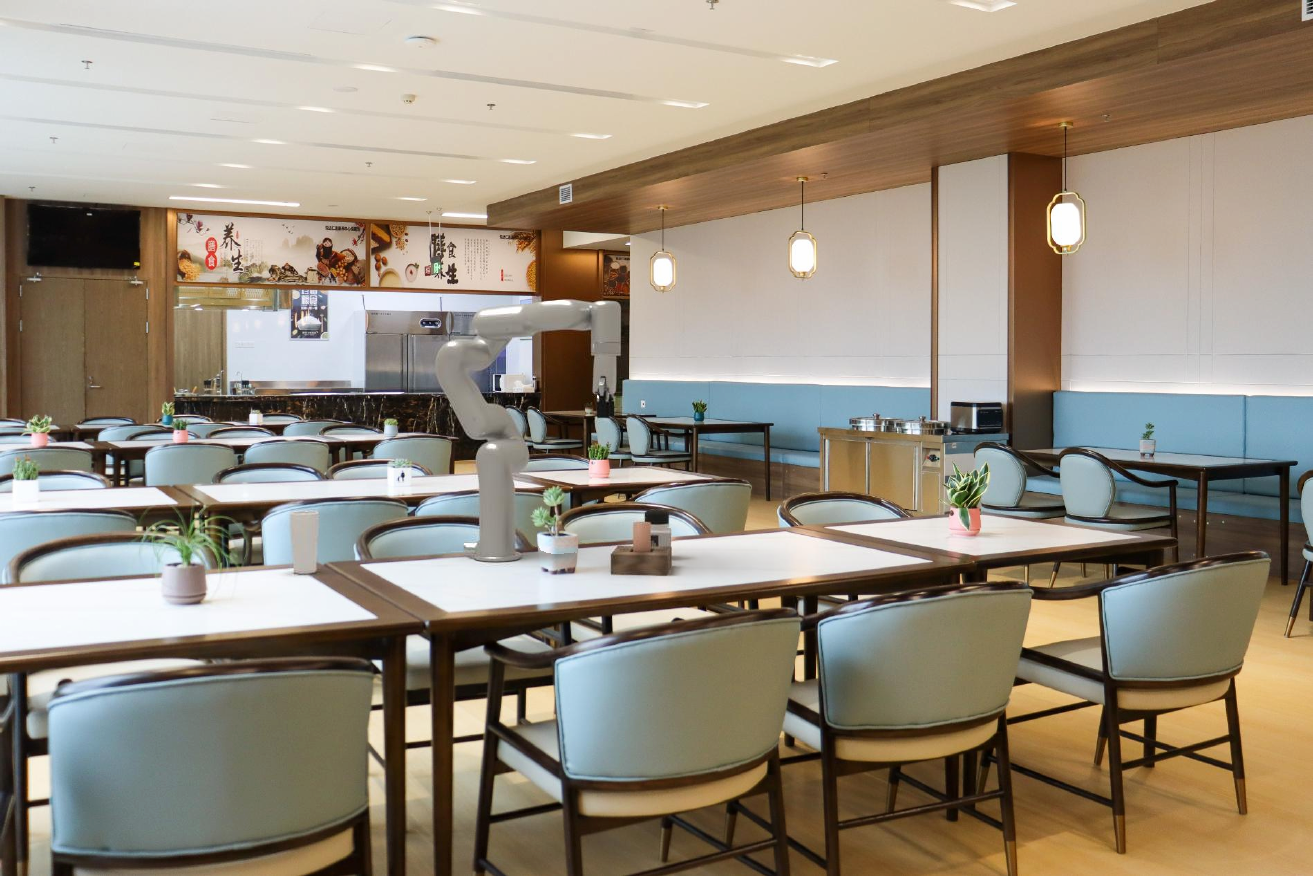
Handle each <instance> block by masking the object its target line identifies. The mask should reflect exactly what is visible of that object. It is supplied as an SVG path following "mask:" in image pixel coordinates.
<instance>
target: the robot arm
mask: <svg viewBox="0 0 1313 876" xmlns="http://www.w3.org/2000/svg"><path fill="white" fill-rule="evenodd" d="M621 310H622V308H621V304H620V303H619V302H618V301H613V300H598V301H595V302H590V301H583V300H577V299H558V300H545V301H539V302H537V301H536V302H530V303H520V304H511V305H510V304H509V305H499V306H489V307H484V308H482V309H479V310H477V311H476V313H475V314H474V316H473V318H472V329H473V331H474V333H475V335H476V336H475V337H474V338H473V339H466V338H465V339H464V338H458V339H452V340H449V341H447V342H446V343H444V344H443V345H442V346H441V347H440V348H439V351H438V352H437V355H436V358H435V362H434V370H435V376H436V379H437V382H438V383H439V385H440V388H441V389H442V391H443V392H444V394H445V397H446V398H447V399H448V401H449V403H450V405H451V408H452V409H453V411H454V413H455V415H456V418H457V419H458V421H459V423H460V425H461V427H462V428H463V431H464V432H465V434H466V436H468V437H469V438H470V439H472V440H480V441H481V440H482V441H483V440H486V442H484V443H483V444H481V445H480V447H479V448H478V450H477V452H476V456H475V467H476V473H477V479H478V500H479V501H478V503H479V505H478V506H479V507H478V510H479V511H478V512H479V515H478V517H479V518H478V519H479V520H478V521H479V522H478V523H479V524H478V525H479V528H478V529H479V531H478V532H479V533H478V535H479V536H478V537H479V540H478V541H476V542H464V543H463V550H464V551H475V553H473V559H474V560H476V561H480V562H494V563H495V562H496V563H497V562H510V561H512V562H513V561H517V560H520V559H521V558H522V553H521V552H519V551H516V489H515V488H516V485H515V481H514V478H513V474H515V473H519V472H521V471H523V470H524V469H525V468H526V467H527V465H528V464H529V460H530V452H529V449H528V448H529V447H528V445H527V443H526V441H525V439H524V438H523V435H522V433H521V432H520V429H519V427H518V426H517V424H516V422H515V421H514V419H513V417H512V415H511V414H510V413H509V411H508V410H507V409H506V408H505V407H504V406H502V405H500V404H497V403H488V402H487V401H486V400H485V397H484V396H483V394H482V393H481V391H480V388H479V387H478V385H477V383H476V382H475V381H474V380H473V378H472V377H470V375H469V374H468V372H478V371H483V370H485V369H488V367H490V365H492V364H493V363H494V362H495V360H496V359H497V358H498V356H500V354H501V353H502V352H503V351H504V350H505V348H506V347H507V346H508V345H509V343H510V342H511V341H512V340H513V339H514V338H524V337H525V338H526V337H527V338H528V337H532V336H535V334H536V333H541V332H549V331H550V332H551V331H560V330H572V331H573V330H574V331H589V330H590V332H591V333H590V337H591V338H590V339H591V340H590V341H591V342H590V348H591V349H590V352H591V353H590V355H591V356H594V359H593V370H592V371H593V372H592V374H593V375H592V376H593V377H592V393H593V394H594V395H597V397H596V398H597V399H596V418H597V419H609V418H610V417H612V418H613V417H614V416H615V395H614V394H615V393H616V391H617V356H618V357H620V356H622V355H621V349H622V347H621V343H622V342H621V340H622V339H621V338H622V335H621V333H622V328H621V327H622V324H621V323H622V319H621V318H622V317H621V316H622V315H621V314H622V311H621Z"/></svg>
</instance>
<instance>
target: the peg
mask: <svg viewBox="0 0 1313 876" xmlns="http://www.w3.org/2000/svg"><path fill="white" fill-rule="evenodd" d="M632 525H633V527H632V529H633V530H632V536H633V537H632V546H633V552H651V523H650V522H645V521H635V522H633V524H632Z"/></svg>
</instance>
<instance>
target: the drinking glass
mask: <svg viewBox="0 0 1313 876" xmlns="http://www.w3.org/2000/svg"><path fill="white" fill-rule="evenodd" d="M319 518H320V517H319V511H317V510H296V511H291V512H290V516H289V527H290V529H289V531H290V540H291V541H290V542H291V549H292V557H293V558H292V559H293V560H292V563H293V572H294V573H295V574H297V575H310V574H314V573H316V572H317V559H318V547H319V546H318V544H319V532H320V530H319V529H320V519H319Z"/></svg>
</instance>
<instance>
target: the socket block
mask: <svg viewBox="0 0 1313 876" xmlns="http://www.w3.org/2000/svg"><path fill="white" fill-rule="evenodd" d="M672 547H673V546H671V547H660V546H651V552H633V545H617V546H616V547H615V548H614V550H613V551H612V553H610V575H616V576H617V575H621V576H624V575H625V576H626V575H627V576H629V575H630V576H668V574H669V573H670V570H671V568H672V564H673V563H672V560H673V558H672V557H673V555H672V554H673V553H672V551H673V549H672Z"/></svg>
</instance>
